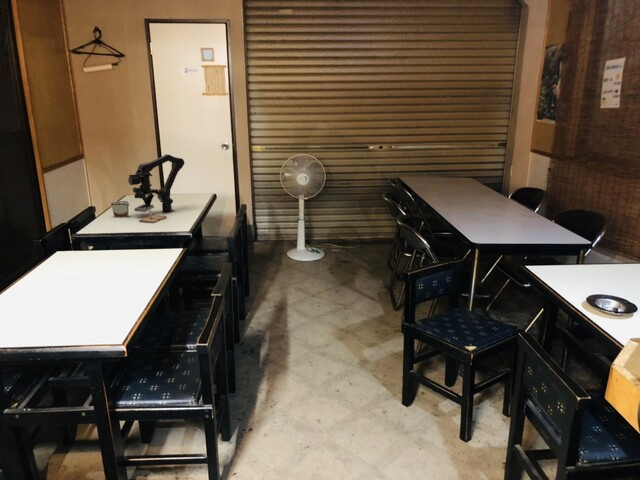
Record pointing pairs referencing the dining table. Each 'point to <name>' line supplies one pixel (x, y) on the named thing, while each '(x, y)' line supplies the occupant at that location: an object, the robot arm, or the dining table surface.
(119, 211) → the food container
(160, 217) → the keeper board
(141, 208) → the steel link
